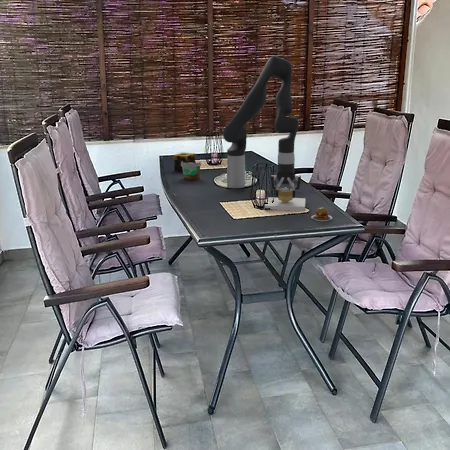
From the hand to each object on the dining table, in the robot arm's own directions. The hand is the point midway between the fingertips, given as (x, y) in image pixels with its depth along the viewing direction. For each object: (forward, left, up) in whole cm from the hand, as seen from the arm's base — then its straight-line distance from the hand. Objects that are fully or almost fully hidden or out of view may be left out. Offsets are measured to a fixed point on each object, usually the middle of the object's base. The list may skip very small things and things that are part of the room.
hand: (285, 197), depth 232 cm
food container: (-57, +49, -4) cm, 75 cm away
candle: (-66, +75, -4) cm, 100 cm away
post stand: (0, 0, -4) cm, 4 cm away
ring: (0, 0, -1) cm, 1 cm away
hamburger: (+16, -17, -5) cm, 24 cm away
